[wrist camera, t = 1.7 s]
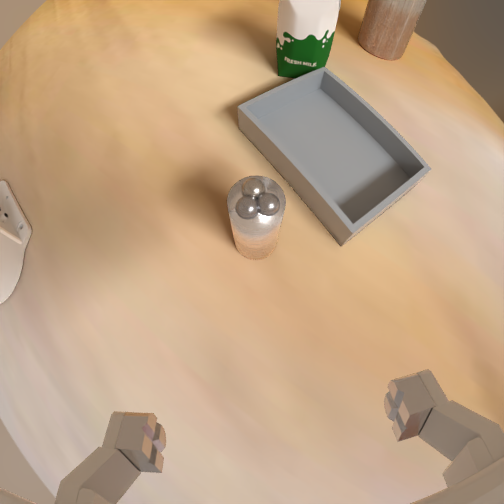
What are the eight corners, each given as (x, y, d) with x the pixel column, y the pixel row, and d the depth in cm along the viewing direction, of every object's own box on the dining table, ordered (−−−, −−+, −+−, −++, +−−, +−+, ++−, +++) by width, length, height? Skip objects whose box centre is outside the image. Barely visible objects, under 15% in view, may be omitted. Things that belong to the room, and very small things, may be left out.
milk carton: (324, 56, 47) (343, -33, 28) (324, 87, 45) (348, -13, 26) (277, 49, 48) (283, -42, 29) (271, 79, 46) (277, -24, 26)
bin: (238, 128, 43) (237, 106, 38) (319, 88, 45) (324, 66, 40) (340, 246, 38) (352, 233, 33) (416, 185, 40) (431, 168, 35)
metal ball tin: (226, 234, 38) (214, 189, 26) (260, 211, 39) (262, 159, 27) (250, 268, 37) (249, 235, 25) (285, 243, 38) (299, 201, 26)
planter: (407, 49, 50) (439, -29, 28) (395, 67, 47) (432, -22, 25) (366, 28, 51) (389, -52, 29) (350, 44, 49) (374, -48, 27)
